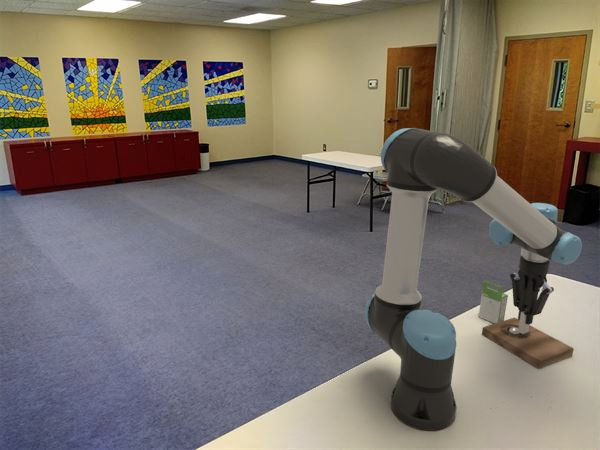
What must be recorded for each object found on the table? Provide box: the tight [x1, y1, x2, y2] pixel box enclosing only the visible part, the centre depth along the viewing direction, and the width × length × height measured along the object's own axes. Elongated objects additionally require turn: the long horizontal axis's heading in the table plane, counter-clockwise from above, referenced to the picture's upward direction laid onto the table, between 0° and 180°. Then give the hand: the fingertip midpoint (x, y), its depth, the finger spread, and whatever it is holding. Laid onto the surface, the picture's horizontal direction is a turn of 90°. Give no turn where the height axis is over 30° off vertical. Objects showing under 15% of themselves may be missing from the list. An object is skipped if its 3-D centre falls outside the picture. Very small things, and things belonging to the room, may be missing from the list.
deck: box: [481, 317, 574, 370], centre depth 137 cm, size 20×14×2 cm
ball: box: [508, 327, 520, 335], centre depth 141 cm, size 3×3×3 cm
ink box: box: [478, 280, 509, 324], centre depth 150 cm, size 7×4×13 cm, turn 37°
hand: (523, 331), depth 138 cm, fingers closed
